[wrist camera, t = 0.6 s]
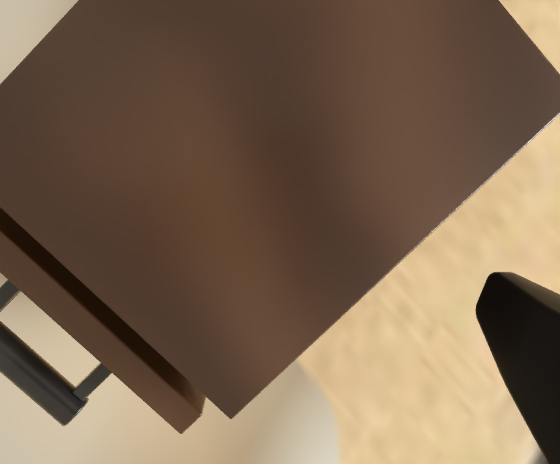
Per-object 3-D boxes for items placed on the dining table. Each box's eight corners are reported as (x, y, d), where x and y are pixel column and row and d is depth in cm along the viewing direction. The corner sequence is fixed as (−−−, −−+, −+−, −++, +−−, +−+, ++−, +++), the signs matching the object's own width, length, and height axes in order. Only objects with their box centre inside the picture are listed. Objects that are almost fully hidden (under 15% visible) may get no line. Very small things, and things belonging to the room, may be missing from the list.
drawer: (133, 443, 24) (105, 505, 20) (-73, 262, 22) (-151, 288, 18) (441, 151, 22) (483, 152, 18) (243, -69, 21) (238, -125, 16)
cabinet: (238, 354, 25) (231, 420, 18) (23, 150, 23) (-63, 150, 17) (496, 110, 23) (579, 96, 17) (290, -129, 21) (301, -240, 15)
